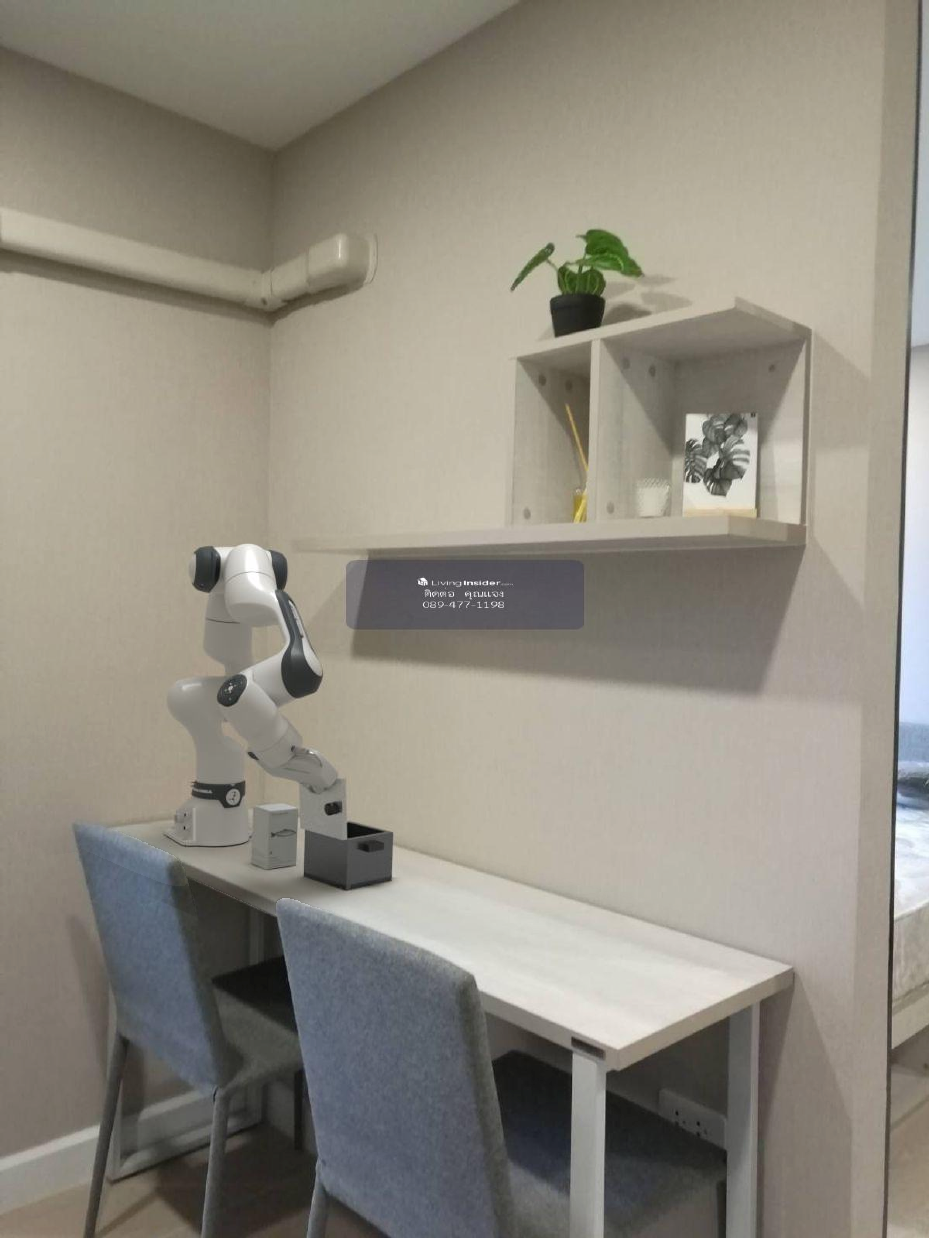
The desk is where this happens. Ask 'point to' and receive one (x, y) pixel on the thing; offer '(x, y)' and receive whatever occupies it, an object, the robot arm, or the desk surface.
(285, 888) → the desk surface
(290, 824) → the supplement box
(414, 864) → the desk surface
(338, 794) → the lid
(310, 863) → the grey storage bin
